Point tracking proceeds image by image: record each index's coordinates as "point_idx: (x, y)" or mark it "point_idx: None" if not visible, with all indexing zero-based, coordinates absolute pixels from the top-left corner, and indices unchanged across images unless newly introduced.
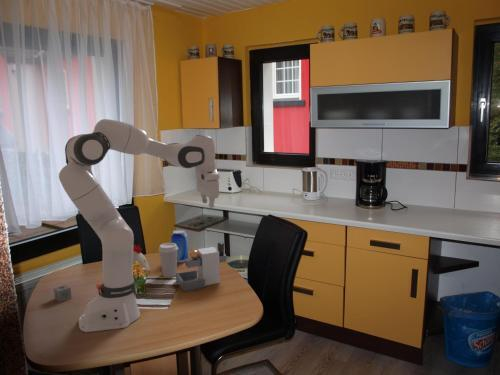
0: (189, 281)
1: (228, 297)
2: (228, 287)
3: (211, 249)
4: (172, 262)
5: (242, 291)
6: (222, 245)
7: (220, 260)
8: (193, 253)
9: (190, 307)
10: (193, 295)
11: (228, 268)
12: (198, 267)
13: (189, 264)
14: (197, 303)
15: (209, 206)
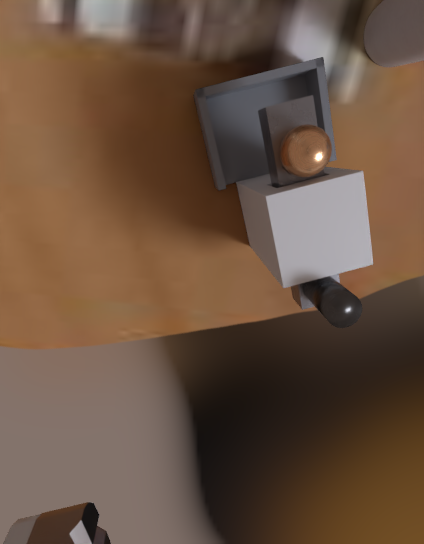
0: (210, 120)
1: (115, 264)
2: (201, 271)
3: (332, 250)
4: (398, 30)
5: (158, 314)
6: (324, 316)
7: None
8: (290, 144)
9: (43, 119)
10: (152, 136)
11: (377, 287)
12: None
13: (263, 120)
14: (76, 148)
15: (41, 521)
